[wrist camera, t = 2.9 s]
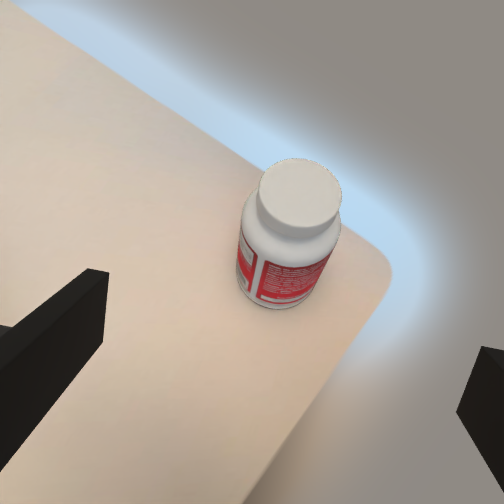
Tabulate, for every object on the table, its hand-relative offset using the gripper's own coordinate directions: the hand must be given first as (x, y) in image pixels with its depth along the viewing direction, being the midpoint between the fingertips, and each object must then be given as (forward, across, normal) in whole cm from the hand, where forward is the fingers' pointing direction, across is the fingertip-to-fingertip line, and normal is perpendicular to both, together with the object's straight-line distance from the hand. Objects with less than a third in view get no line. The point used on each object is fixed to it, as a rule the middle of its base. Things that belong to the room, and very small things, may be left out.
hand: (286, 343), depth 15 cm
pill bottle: (+18, 0, -4) cm, 19 cm away
